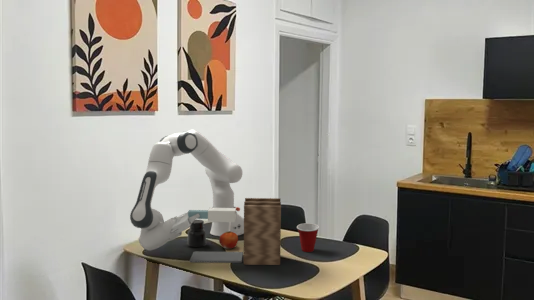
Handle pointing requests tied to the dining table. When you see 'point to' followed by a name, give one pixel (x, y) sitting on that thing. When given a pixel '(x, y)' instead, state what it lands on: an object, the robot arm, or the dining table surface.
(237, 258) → the mat
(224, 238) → the tomato
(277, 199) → the stand
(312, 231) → the plastic cup
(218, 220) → the block
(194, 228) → the ink bottle
